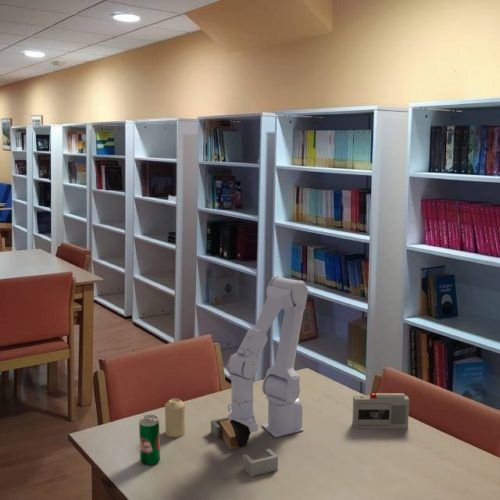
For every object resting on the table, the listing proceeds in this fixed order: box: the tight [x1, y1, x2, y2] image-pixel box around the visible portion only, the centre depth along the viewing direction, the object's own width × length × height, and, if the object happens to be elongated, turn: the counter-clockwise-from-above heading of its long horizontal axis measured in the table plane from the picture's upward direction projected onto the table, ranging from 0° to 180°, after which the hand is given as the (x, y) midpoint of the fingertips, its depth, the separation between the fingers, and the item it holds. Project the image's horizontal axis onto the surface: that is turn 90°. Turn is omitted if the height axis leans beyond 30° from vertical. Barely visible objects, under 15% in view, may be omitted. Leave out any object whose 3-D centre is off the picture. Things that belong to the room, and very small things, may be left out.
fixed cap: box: [210, 416, 229, 440], centre depth 171 cm, size 8×4×4 cm, turn 116°
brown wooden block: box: [219, 420, 240, 450], centre depth 167 cm, size 4×10×4 cm, turn 20°
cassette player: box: [351, 392, 410, 429], centre depth 175 cm, size 16×3×10 cm, turn 90°
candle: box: [164, 397, 186, 438], centre depth 171 cm, size 6×6×10 cm
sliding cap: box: [242, 448, 279, 477], centre depth 152 cm, size 8×4×4 cm, turn 116°
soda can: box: [138, 414, 161, 467], centre depth 155 cm, size 5×5×12 cm
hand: (242, 445), depth 162 cm, fingers closed
